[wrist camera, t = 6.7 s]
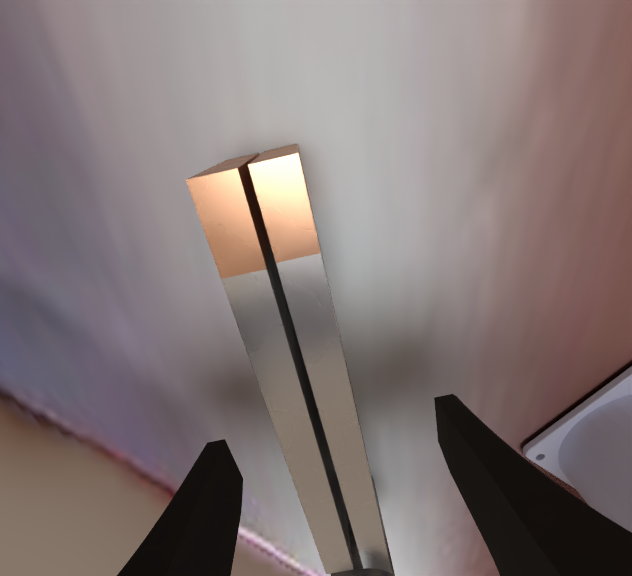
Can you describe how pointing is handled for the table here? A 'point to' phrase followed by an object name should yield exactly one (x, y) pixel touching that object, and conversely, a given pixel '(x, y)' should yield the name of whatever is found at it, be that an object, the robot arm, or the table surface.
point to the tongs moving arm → (273, 347)
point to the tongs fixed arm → (321, 347)
